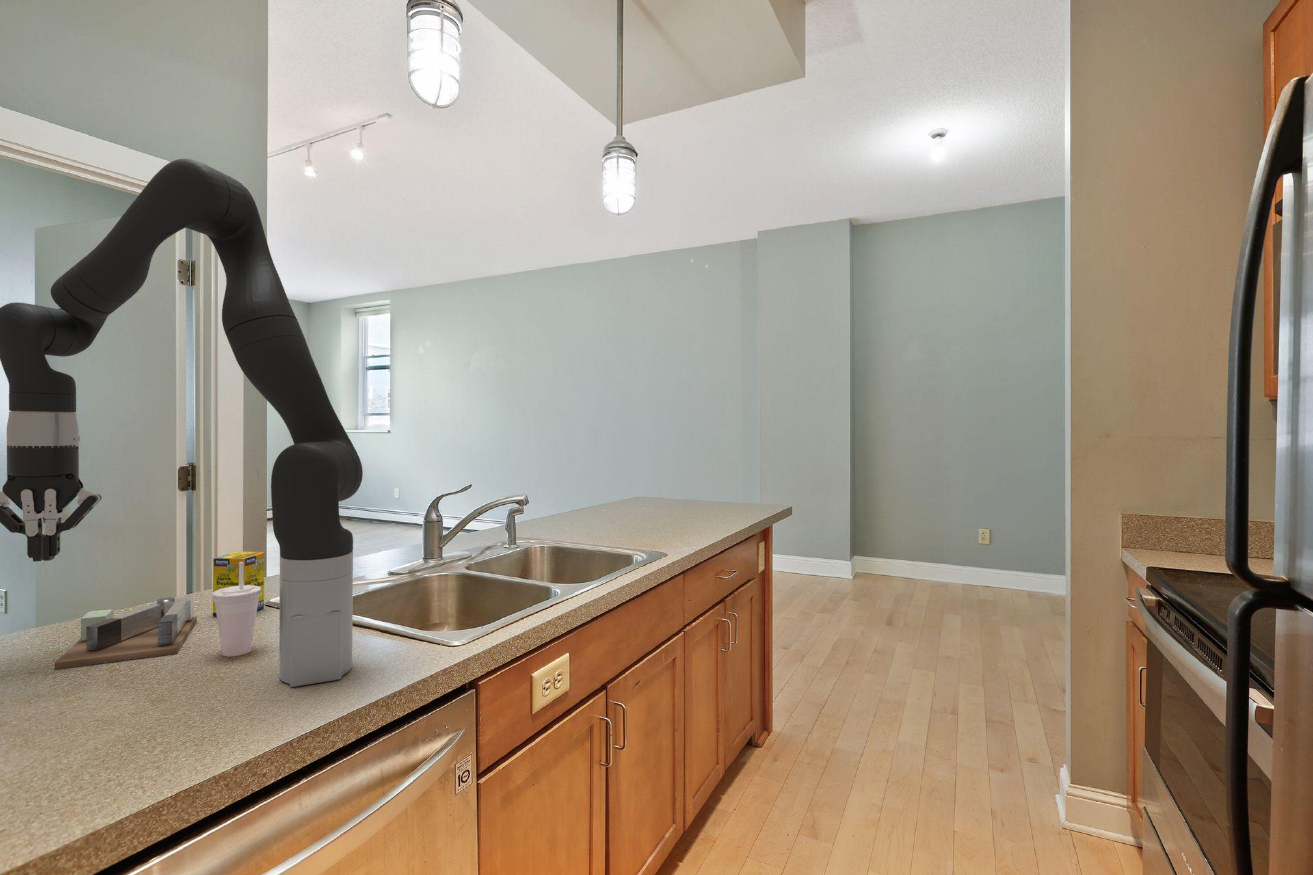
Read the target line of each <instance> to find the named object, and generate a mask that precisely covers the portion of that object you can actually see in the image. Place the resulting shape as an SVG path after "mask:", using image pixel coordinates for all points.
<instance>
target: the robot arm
mask: <svg viewBox="0 0 1313 875" xmlns="http://www.w3.org/2000/svg"><path fill="white" fill-rule="evenodd" d="M184 229H189V230H192V231H195V232H197V233H198V234H199V233H200V234H203V235H206V236H207V237H208V238H209V240H210V241H211V243H212V245H213V247H214V249H215V250H216V253H217V256H218V257H219V260H220V262H221V264H222V268H223V270H224V273H225V280H226V281H225V282H226V284H225V289H224V290H225V291H224V296H223V302H222V309H221V322H222V323H221V324H222V328H223V330H224V331H223V332H224V333H225V336H226V338H227V341H228V343H229V346H230V348H231V351H232V353H233V356H234V358H235V361H236V362H237V365H238V367H240V369H241V371H242V374H244V375H245V377H246V378H247V380H248V381H249V383H251V385H253V387H254V388H255V389H256V390H257V391H258V392H259V393H260V394H261V396H262V397H263V398H264V399H265V400H266V401H267V402H268V404H270V406H272V407H273V409H274V410H275V411H276V412H277V414H278V415H279V416H280V417H281V419H282V421H283V423H284V424H285V426H286V428H287V430H288V431H289V434H290V437H291V439H292V442H293V444H292V445H289V446H287V447H286V448H284V449H283V450H282V451H281V452H280V453H279V454H278V456H277V457H276V459H275V460H274V463H273V465H272V466H273V467H272V470H271V478H270V496H271V514H272V515H271V516H272V528H273V534H274V537H275V539H276V541H277V543H278V546H279V636H278V637H279V638H278V640H279V646H278V647H279V671H278V672H279V673H278V674H279V677H278V678H279V680H280V681H282V682H283V683H285V684H289V685H290V686H289V687H291V688H294V687H300V686H301V687H302V686H306V685H312V684H317V683H318V684H319V683H325V682H331V681H337V680H341V679H342V678H343V675H346V674H347V673H349V672H350V671H351V670H352V668H353V615H354V614H353V604H354V602H353V599H354V598H353V597H354V596H353V595H354V593H353V590H354V589H353V588H354V586H353V585H354V584H353V583H354V581H353V580H354V579H353V577H354V572H353V571H354V536H353V532H352V531H351V530H349V529H347V528H344V527H343V525H342V523H341V520H340V504H339V502H342V501H345V500H347V499H350V498H351V497H353V496H354V495H355V494H356V493H357V492H358V490H359V488H360V487H361V484H362V480H363V475H364V473H363V472H364V471H363V464H362V462H361V458H360V456H359V454H358V452H357V450H356V447H355V446H354V444H353V442H352V440H351V439H350V436H349V435H348V434H347V432H346V430H345V428H344V426H343V424H342V422H341V421H340V419H339V417H338V415H337V413H336V412H335V409H334V407H333V405H332V403H331V400H330V398H329V396H328V394H327V390H326V389H325V384H323V381H322V378H321V375H320V373H319V371H318V368H317V366H316V364H315V361H314V359H313V356H312V354H311V352H310V348H309V346H308V343H307V339H306V338H305V335H304V333H303V330H302V328H301V326H300V323H299V321H298V318H297V317H296V314H295V312H294V310H293V308H292V306H291V304H290V301H289V297H288V296H287V294H286V290H285V287H284V285H283V283H282V280H281V278H280V275H279V273H278V270H277V268H276V265H275V263H274V260H273V257H272V255H271V251H270V248H269V244H268V240H267V237H266V234H265V229H264V226H263V222H262V219H261V216H260V213H259V209H258V206H257V204H256V201H255V199H254V197H253V195H252V194H251V192H250V190H249V189H248V188H247V187H246V186H245V185H244V184H243V183H242V182H240V181H239V180H237V178H236V179H235V178H234V177H232V176H231V175H228V174H226V173H223V172H222V171H219V170H217V169H216V168H213V167H212V166H209V165H207V164H205V163H203V162H201V161H199V160H195V159H192V158H178V159H175V160H172V161H170V162H168V163H167V164H166V165H164V166H162V168H161V169H159V170H158V171H157V173H155V174H154V176H153V177H152V178H151V179H150V180H149V182H148V183H147V184H146V185H145V186H144V188H143V189H142V190H141V192H140V193H138V196H137V197H136V198H135V200H134V201H133V202H132V203H131V204H130V205H129V206H128V208H127V209H126V210H125V212H124V213H123V214H122V215H121V217H120V218H119V219H118V221H117V222H116V223H115V224H114V226H113V228H111V230H110V231H109V232H108V233H107V234H106V236H105V237H104V238H103V239H102V240H101V241H100V242H99V244H97V246H96V247H94V249H92V250H91V251H90V252H89V253H88V254H87V255H85V256H84V257H83V258H81V259H80V260H79V261H78V262H76V264H74V265H73V266H72V267H70V268H69V269H68V270H67V271H65V272H64V274H62V275H60V276H59V277H58V278H57V279H56V280H55V282H53V284H52V285H51V287H50V296H51V298H52V300H53V302H54V303H55V304H56V305H57V306H58V307H59V308H54V307H49V306H44V305H43V306H42V305H37V304H31V303H27V302H17V301H16V302H9V303H6V304H5V305H4V304H3V305H2V306H1V307H0V363H1V366H2V369H3V371H4V374H5V377H6V379H7V382H8V411H9V412H8V418H7V423H6V481H5V483H4V484H3V486H2V491H0V524H1V525H3V527H5V529H7V531H9V532H10V533H13V534H22V535H25V537H26V544H27V547H26V549H27V550H26V551H27V552H26V553H27V557H28V558H29V559H32V561H33V562H42V561H43V562H46V561H47V562H49V561H52V560H54V559H55V557H56V556H58V555H59V554H60V553H61V534H62V533H63V532H66V531H68V530H70V531H71V529H73V528H76V527H77V526H79V524H80V523H81V522H82V521H83V520H84V519H85V517H87V515H88V514H89V513H90V512H91V511H92V510H93V509H94V508H95V507H96V506H97V505H98V504H99V503H100V502H101V500H102V499H103V498H102V495H101V494H99V493H93V492H92V491H91V492H90V491H89V490H88V489H85V488H84V484H83V481H81V479H80V475H79V474H80V471H79V470H80V469H79V467H80V466H79V464H80V463H79V462H80V461H79V460H80V458H79V457H80V454H79V452H80V451H79V450H80V448H79V447H80V445H79V444H80V434H79V432H80V431H79V429H80V428H79V424H78V423H79V422H78V417H77V416H78V415H77V385H76V381H75V379H74V377H73V376H72V375H69V374H68V373H65V372H61V371H58V370H55V369H53V368H52V367H51V366H50V364H49V362H48V359H47V357H46V356H52V357H53V356H54V357H71V356H75V355H78V354H80V353H81V352H84V351H85V350H87V349H88V348H89V347H91V345H92V344H93V343H94V340H95V339H96V338H97V336H98V334H99V333H100V331H101V329H102V328H103V326H104V324H105V322H106V320H107V319H108V317H109V316H110V315H111V314H112V313H114V312H115V311H116V310H118V309H119V308H121V306H123V305H124V304H125V303H126V302H128V301H129V300H130V299H131V298H132V297H133V296H135V295H136V294H137V293H138V292H139V291H140V289H142V286H144V284H145V283H146V282H145V281H147V278H148V274H149V271H150V266H151V262H152V259H153V256H154V254H155V252H156V250H157V249H158V247H159V246H160V245H161V244H162V243H163V242H164V241H166V240H167V239H169V238H170V237H172V236H173V235H175V234H177V233H178V232H179V231H182V230H184ZM77 496H78V498H77V501H76V503H77V505H78V506H77V507H76V509H75V510H73V512H72V513H70V515H69V516H68V517H67V518H66V519H65V520H64V521H63V518H64V516H65V508H67V507H68V506H69V504H71V502H73V500H74V499H75V498H76V497H77ZM9 500H10V501H9ZM11 502H12V503H13V504H15V505H16V507H18V508H19V510H21V511H22V516H23V517H22V518H21V517H20V516H19V515H18V514H16V512H15V511H13V509H11V507H9V506H10V504H11ZM43 532H44V533H43Z"/></svg>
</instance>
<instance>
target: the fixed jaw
mask: <svg viewBox="0 0 1313 875" xmlns="http://www.w3.org/2000/svg"><path fill="white" fill-rule="evenodd" d="M156 604H157V605H161V620H160V621H159V622H158V646H161V645H169V644H172V643H173V642H174V640H175V639H176V637H177V635H178V634H179V632H180V631H181V629H182V628H183V626H184V625H185V623H186V622H187V621H190V620H191V619H192V618H193V616H194V596H188V597H178V598H177V597H176V598H175V597H163V598H162V597H161V598H158V599H157V600H156Z"/></svg>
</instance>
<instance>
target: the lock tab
mask: <svg viewBox="0 0 1313 875" xmlns="http://www.w3.org/2000/svg"><path fill="white" fill-rule="evenodd" d="M110 618H114V608H113V609H112V608H110V609H103V610H101V609H100V610H99V609H98V610H91V611H90V610H89V611H88V612H87V613H86V614H84V615H83V616H82V617H81V618H80V639H81V641H83V640H86V626H89V625H92V624H95V623H98V622H101V621H104V620H107V619H110Z"/></svg>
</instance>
